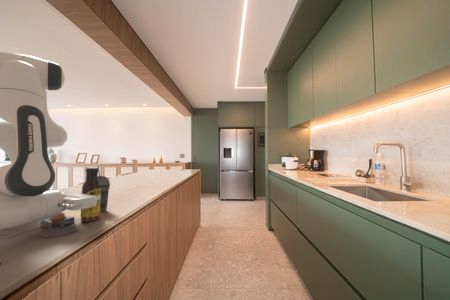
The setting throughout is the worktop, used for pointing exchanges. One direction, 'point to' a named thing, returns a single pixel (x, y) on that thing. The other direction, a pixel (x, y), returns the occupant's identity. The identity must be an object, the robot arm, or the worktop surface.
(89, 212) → the sauce bottle
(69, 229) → the mat
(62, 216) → the button
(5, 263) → the worktop surface
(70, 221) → the button housing
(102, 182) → the beverage cup
